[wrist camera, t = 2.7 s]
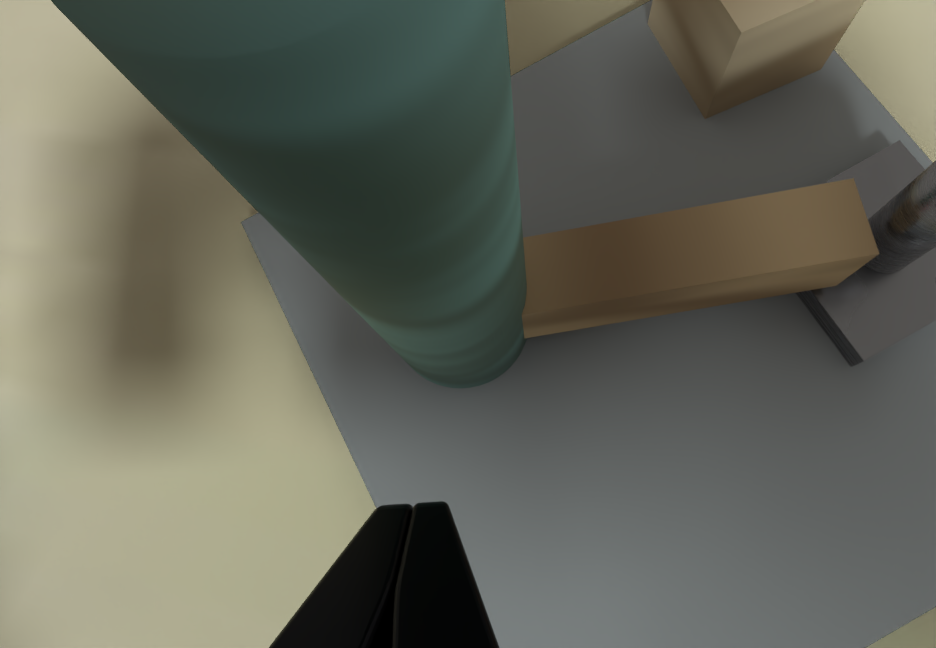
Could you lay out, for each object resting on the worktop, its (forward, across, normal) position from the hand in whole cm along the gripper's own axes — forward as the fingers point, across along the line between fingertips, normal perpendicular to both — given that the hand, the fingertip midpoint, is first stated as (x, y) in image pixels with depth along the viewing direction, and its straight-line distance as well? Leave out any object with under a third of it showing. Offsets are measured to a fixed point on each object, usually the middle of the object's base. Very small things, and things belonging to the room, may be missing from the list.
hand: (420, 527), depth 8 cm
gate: (+7, -3, +1) cm, 8 cm away
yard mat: (+7, -4, +2) cm, 9 cm away
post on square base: (+8, -9, +1) cm, 12 cm away
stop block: (+12, -7, -3) cm, 14 cm away
